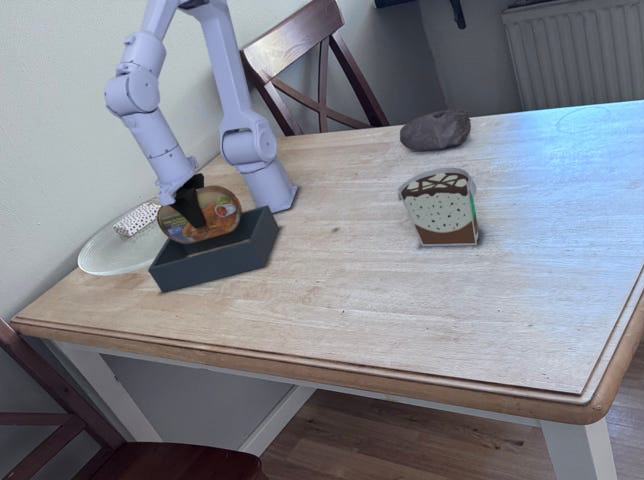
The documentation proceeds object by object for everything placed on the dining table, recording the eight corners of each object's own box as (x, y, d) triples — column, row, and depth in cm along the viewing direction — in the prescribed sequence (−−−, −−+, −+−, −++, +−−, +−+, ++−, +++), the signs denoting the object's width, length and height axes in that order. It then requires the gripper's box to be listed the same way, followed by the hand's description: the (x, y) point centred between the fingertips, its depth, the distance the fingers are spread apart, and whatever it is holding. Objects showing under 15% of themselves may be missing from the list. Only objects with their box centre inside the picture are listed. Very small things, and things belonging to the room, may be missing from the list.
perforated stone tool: (399, 157, 129) (388, 124, 125) (409, 145, 132) (399, 113, 128) (467, 150, 122) (458, 115, 118) (476, 137, 125) (468, 103, 121)
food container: (499, 222, 98) (485, 162, 92) (486, 244, 94) (470, 183, 88) (429, 224, 104) (411, 168, 98) (413, 246, 100) (394, 189, 94)
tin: (172, 248, 115) (146, 209, 109) (177, 238, 117) (151, 199, 111) (248, 228, 112) (224, 187, 106) (251, 218, 114) (228, 177, 108)
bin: (185, 253, 125) (172, 231, 122) (279, 228, 121) (268, 204, 117) (162, 292, 114) (147, 270, 111) (264, 266, 110) (251, 242, 107)
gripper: (155, 139, 110) (195, 208, 119) (124, 175, 99) (170, 248, 108) (191, 128, 109) (228, 198, 117) (164, 163, 98) (207, 238, 106)
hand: (203, 222), depth 113 cm, fingers closed on tin, 2 cm apart
